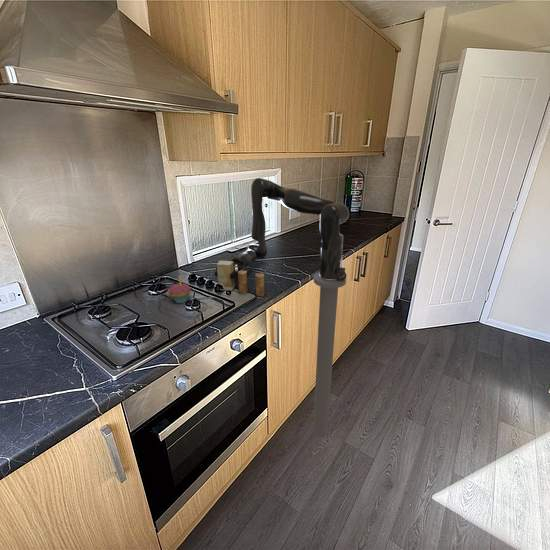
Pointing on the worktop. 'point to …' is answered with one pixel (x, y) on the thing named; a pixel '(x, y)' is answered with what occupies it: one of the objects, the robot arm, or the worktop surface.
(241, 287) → the oak pegs
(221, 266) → the cosmetic box
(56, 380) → the worktop surface
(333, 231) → the robot arm
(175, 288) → the cupcake
